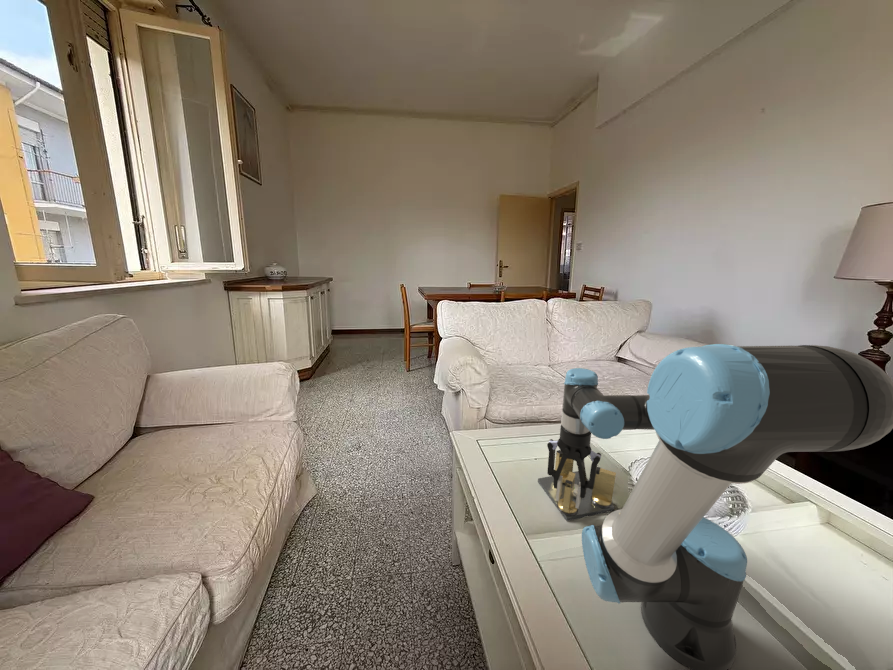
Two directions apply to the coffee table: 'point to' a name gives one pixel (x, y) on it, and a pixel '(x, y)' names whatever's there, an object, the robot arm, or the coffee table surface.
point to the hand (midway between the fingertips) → (567, 501)
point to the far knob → (567, 466)
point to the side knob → (603, 487)
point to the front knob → (568, 495)
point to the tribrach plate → (574, 499)
